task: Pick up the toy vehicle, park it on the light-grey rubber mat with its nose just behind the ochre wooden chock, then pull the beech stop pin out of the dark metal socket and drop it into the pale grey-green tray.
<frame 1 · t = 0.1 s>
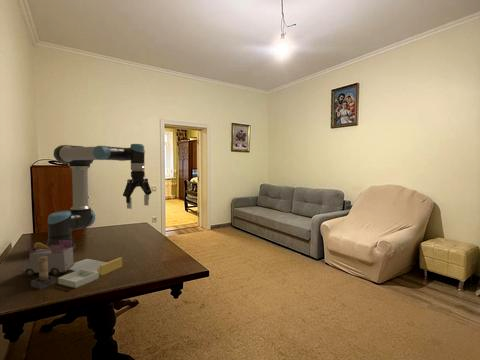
hand: (138, 206, 152), 28 cm above the table, fingers open, 13 cm apart
pin: (43, 271, 112), in the socket
tray: (79, 281, 116), on the table
mat: (92, 267, 132), on the table
toy vehicle: (49, 272, 125), on the table, touching mat
chock: (110, 270, 127), resting on mat
socket: (43, 284, 112), on the table
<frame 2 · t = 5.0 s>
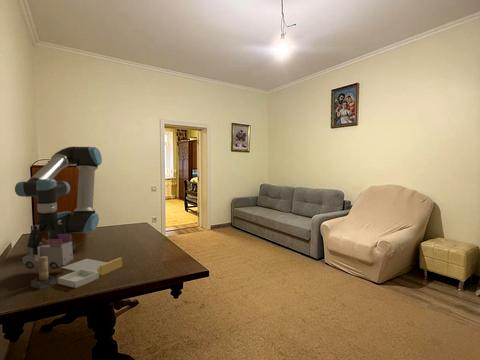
hand: (49, 257, 125), 8 cm above the table, fingers open, 10 cm apart
toy vehicle: (49, 266, 125), point 3 cm above the table, touching gripper
everything else where it was.
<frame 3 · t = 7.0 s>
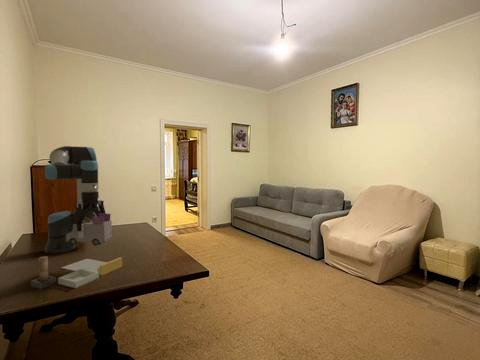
hand: (90, 235, 131), 17 cm above the table
toy vehicle: (90, 243, 131), point 12 cm above the table, touching gripper
everything else where it was.
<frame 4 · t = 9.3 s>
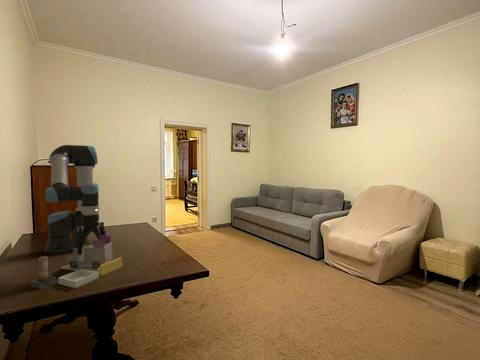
hand: (91, 257, 132), 5 cm above the table, fingers closed on toy vehicle, 10 cm apart
toy vehicle: (90, 265, 132), point 1 cm above the table, touching gripper
everything else where it was.
when the fingers open (5 cm above the table, at t = 9.5 s): toy vehicle moves 2 cm, resting on mat.
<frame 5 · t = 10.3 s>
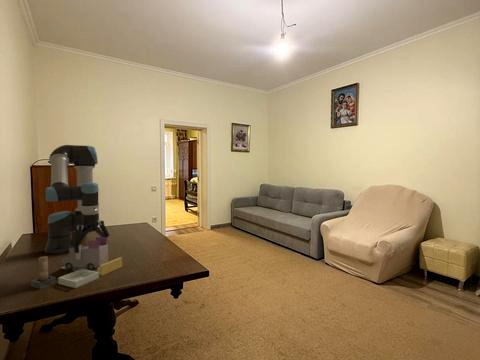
hand: (91, 254, 132), 6 cm above the table, fingers open, 13 cm apart
toy vehicle: (85, 268, 130), resting on mat
everything else where it was.
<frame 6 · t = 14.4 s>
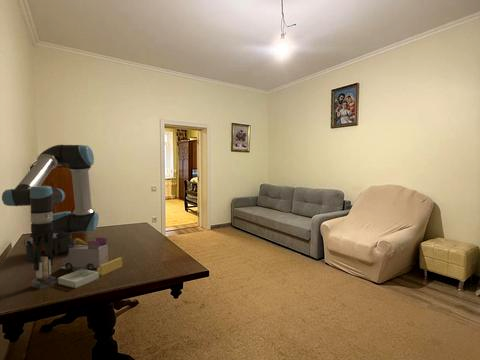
hand: (43, 275, 112), 4 cm above the table, fingers closed on pin, 3 cm apart
pin: (43, 271, 112), in the socket, touching gripper
everything else where it was.
when the fingers open (7 cm above the table, at t = 19.2 s): pin drops 3 cm, resting on tray.
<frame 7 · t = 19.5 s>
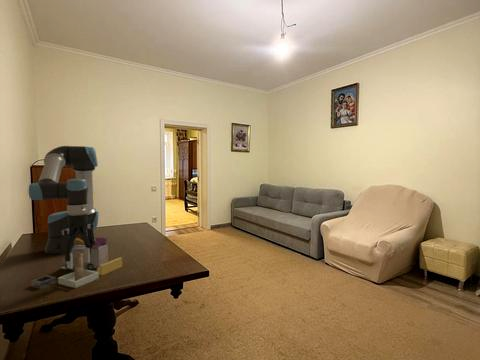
hand: (78, 264, 115), 8 cm above the table, fingers open, 7 cm apart
pin: (79, 266, 115), in the tray, point 7 cm above the table
everything else where it was.
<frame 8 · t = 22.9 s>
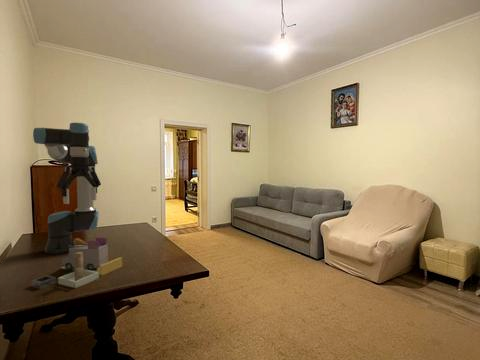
hand: (80, 202, 122), 35 cm above the table, fingers open, 13 cm apart
nothing on the table moved.
at the end: toy vehicle inside the target area (2.7 cm from its centre), resting on mat; toy vehicle tilted 0°; pin inside the target area on the tray (0.0 cm from its centre), point 6.8 cm above the tray's base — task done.
